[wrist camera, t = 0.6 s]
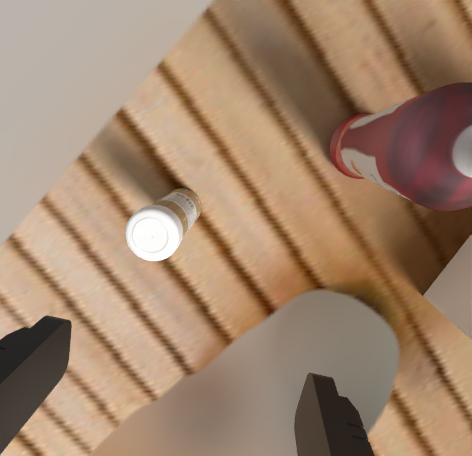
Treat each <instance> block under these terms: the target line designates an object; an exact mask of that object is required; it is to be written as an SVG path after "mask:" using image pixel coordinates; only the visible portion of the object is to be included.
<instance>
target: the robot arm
mask: <svg viewBox="0 0 472 456" xmlns="http://www.w3.org/2000/svg"><path fill="white" fill-rule="evenodd" d="M71 327H72V325H71V321H70V320H66V319H61V318H57V317H52V316H44V317H43V318H42V319H41V320H39V321H38V322H37V323H36V324H35V325H34V326H32V327H31V328H26V327H24V328H21V329H19V330H17V331H15V332H12V333H10V334H8V335H6V336H5V337H3V338H2V339H1V340H0V454H1V453H2V452H3V451H4V449H5V448H6V447H7V446H8V444H9V443H10V442H11V441H12V439H13V438H14V437H15V436H16V434H17V433H18V432H19V431H20V429H21V428H22V427H23V426H24V424H25V423H26V422H27V421H28V420H29V418H30V417H31V416H32V415H33V413H34V412H35V411H36V410H37V408H38V407H39V406H40V405H41V403H42V402H43V401H44V400H45V398H46V397H47V396H48V395H49V393H50V392H51V391H52V390H53V388H54V387H55V386H56V385H57V384H58V382H59V381H60V380H61V378H62V377H63V375H64V373H65V371H66V368H67V365H68V361H69V351H70V339H71ZM363 427H364V426H363V424H362V421H361V418H360V415H359V413H358V411H357V410H356V408H355V407H354V406H353V405H352V403H351V402H350V401H349V399H348V398H346V397H342V396H339V395H338V392H337V389H336V386H335V383H334V380H333V378H331V377H327V376H322V375H317V374H313V373H309V374H308V375H307V378H306V381H305V384H304V387H303V390H302V394H301V397H300V400H299V403H298V407H297V410H296V414H295V427H294V428H295V437H296V445H297V453H298V456H374V453H373V451H372V448H371V445H370V442H368V437H367V434H366V432H365V430H364V429H363Z"/></svg>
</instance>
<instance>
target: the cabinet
mask: <svg viewBox="0 0 472 456" xmlns="http://www.w3.org/2000/svg"><path fill="white" fill-rule="evenodd" d="M423 297H424V298H425V299H427V300H428V301H429V302H430V303H431V304H432V305H433V306H434V307H435V308H437V309H438V310H439V311H440V312H441V313H442V314H443V315H444V316H445V317H447V318H448V319H449V320H450V321H451V322H452V323H453V324H454V325H456V326H457V327H458V328H459V329H460V330H461V331H462V332H463V333H464V334H466V335H467V336H468V337H469V338H470V339H471V340H472V234H471V235H470V236H469V238H468V239H467V240H466V241H465V243H464V244H463V245H462V247H461V248H460V249H459V250H458V252H457V253H456V254H455V256H454V257H453V258H452V259H451V261H450V262H449V263H448V264H447V266H446V267H445V268H444V270H443V271H442V272H441V273H440V275H439V276H438V277H437V278H436V280H435V281H434V282H433V284H432V285H431V286H430V287H429V289H428V290H427V291H426V293H425V294H424V295H423Z"/></svg>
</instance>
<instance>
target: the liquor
mask: <svg viewBox="0 0 472 456" xmlns="http://www.w3.org/2000/svg"><path fill="white" fill-rule="evenodd" d="M330 155H331V159H332V161H333V163H334V165H335V167H336V168H337V169H338V170H339V171H340V172H341V173H343V174H344V175H346V176H348V177H351V178H356V179H363V178H365V179H368V180H370V181H372V182H374V183H376V184H378V185H380V186H381V187H383V188H385V189H387V190H389V191H391V192H393V193H396V194H398V195H400V196H402V197H405V198H407V199H409V200H411V201H413V202H415V203H417V204H419V205H422V206H424V207H427V208H429V209H434V210H439V211H454V210H459V209H465V208H468V207H470V206H472V83H455V84H451V85H446V86H443V87H440V88H438V89H435V90H433V91H430V92H428V93H425V94H422V95H420V96H417V97H414V98H411V99H409V100H406V101H404V102H401V103H399V104H397V105H394V106H392V107H390V108H388V109H386V110H383V111H380V112H378V113H375V114H358V115H354V116H352V117H349V118H348V119H346V120H345V121H343V122H342V123H341V124H340V125H339V126H338V128H337V129H336V130H335V132H334V134H333V136H332V139H331V143H330Z"/></svg>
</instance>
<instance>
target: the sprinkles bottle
mask: <svg viewBox="0 0 472 456" xmlns="http://www.w3.org/2000/svg"><path fill="white" fill-rule="evenodd" d="M200 212H201V203H200V200H199V198H198V197H197V195H196V194H195V193H194V192H192V191H190V190H188V189H182V188H180V189H175V190H173V191H171V192H170V193H169V194H168V195H167V196H164V197H162V198H160V199H159V200H157V201H156V202H155V203H154V204H152V205H150V206H146V207H144V208H142V209H140V210H139V211H137V212H136V213H135V214H134V215H132V217H131V218H130V219H129V221H128V223H127V225H126V230H125V236H126V241H127V243H128V246H129V247H130V249H131V250H132V251H133V252H134V253H135V254H136V255H137V256H139V257H140V258H142V259H145V260H149V261H159V260H163V259H165V258H167V257H169V256H170V255H172V254H173V253H174V251H175V250H176V249H177V248H178V246H179V245H180V243H181V240H182V238H183V237H184V235H185V234H186V233H187V231H188V230H189V229H190V227H191V226H192V225H193V223H194V221H196V220H197V219H198V217H199V215H200Z"/></svg>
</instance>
